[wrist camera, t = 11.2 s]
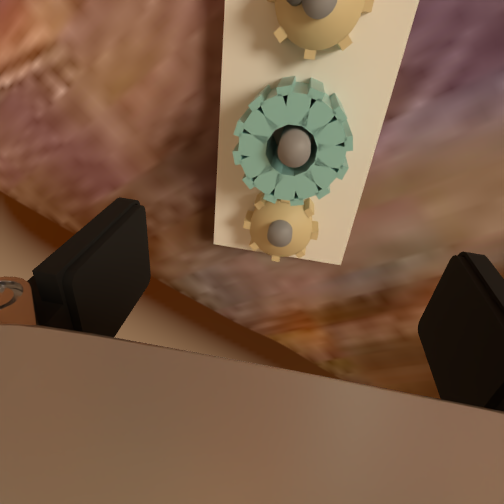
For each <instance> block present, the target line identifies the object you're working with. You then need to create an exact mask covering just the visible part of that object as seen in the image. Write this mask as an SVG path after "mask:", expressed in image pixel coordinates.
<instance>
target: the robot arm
mask: <svg viewBox="0 0 504 504" xmlns="http://www.w3.org/2000/svg"><path fill="white" fill-rule="evenodd" d="M32 272H33V275H34V276H32V277H31V278H30V279H29V280H28V281H25V280H24V279H22V278H17V277H0V504H504V279H503V278H502V276H501V275H500V274H499V272H498V271H497V270H496V269H495V267H494V266H493V265H492V263H491V262H490V261H489V259H488V258H487V257H486V256H485V255H480V254H474V253H468V252H461V253H460V254H459V255H458V256H456V255H455V256H453V257H452V258H451V259H450V261H449V263H448V265H447V267H446V269H445V271H444V273H443V275H442V277H441V279H440V281H439V283H438V285H437V287H436V289H435V291H434V293H433V295H432V297H431V299H430V301H429V303H428V305H427V307H426V309H425V311H424V313H423V315H422V317H421V319H420V321H419V324H418V333H419V337H420V340H421V342H422V345H423V348H424V351H425V354H426V357H427V360H428V363H429V366H430V369H431V372H432V374H433V377H434V380H435V383H436V386H437V389H438V392H439V395H440V398H441V399H437V398H432V397H427V396H422V395H417V394H411V393H406V392H401V391H396V390H391V389H386V388H381V387H375V386H370V385H365V384H360V383H355V382H350V381H345V380H339V379H334V378H329V377H324V376H318V375H313V374H308V373H303V372H297V371H291V370H286V369H282V368H276V367H271V366H266V365H260V364H255V363H249V362H244V361H239V360H234V359H228V358H223V357H217V356H212V355H206V354H201V353H195V352H190V351H185V350H179V349H173V348H169V347H163V346H158V345H152V344H147V343H141V342H136V341H130V340H125V339H119V338H114V337H115V335H116V334H117V332H118V330H119V329H120V327H121V326H122V324H123V323H124V321H125V320H126V318H127V317H128V315H129V314H130V312H131V311H132V309H133V308H134V306H135V305H136V303H137V301H138V300H139V298H140V297H141V295H142V294H143V292H144V291H145V289H146V288H147V286H148V284H149V282H150V262H149V250H148V237H147V225H146V212H145V208H144V206H141V205H140V203H139V201H138V200H132V199H126V198H117V199H116V200H115V201H114V202H113V203H111V204H110V205H109V206H108V207H107V208H105V209H104V210H103V211H102V212H101V213H100V214H98V215H97V216H96V217H95V218H94V219H92V220H91V221H90V222H89V223H88V224H87V225H85V226H84V227H83V228H82V229H81V230H80V231H78V232H77V233H76V234H75V235H74V236H72V237H71V238H70V239H69V240H68V241H67V242H65V243H64V244H63V245H62V246H61V247H60V248H58V249H57V250H56V251H55V252H54V253H53V254H51V255H50V256H49V257H48V258H47V259H46V260H44V261H43V262H42V263H41V264H40V265H38V266H37V267H36V268H35V269H34V270H33V271H32Z"/></svg>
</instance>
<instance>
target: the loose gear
mask: <svg viewBox="0 0 504 504" xmlns="http://www.w3.org/2000/svg"><path fill="white" fill-rule="evenodd" d="M248 106H249V108H248V109H247V110H246V112H245V113H244V114H243V115H242V116H241V118H240V119H239V120H238V122H237V125H236V128H235V131H234V134H233V135H236V136H238V137H239V142H238V144H237V145H236V147H235V148H234V150H233V151H232V152H233V157H234V163H235V165H239V164H241V166H242V168H243V170H244V172H245V174H244V176H243V179H242V180H243V181H244V183H245V184H246V185H247V186H248V187H249V189H250V190H251V189H252V188H253V187H256V188H258V189H259V190H260V191H262V192H263V193H264V197H263V199H264V200H267V201H269V202H272V203H274V204H275V203H276V200H277V199H281V200H288V201H290V205H291V206H297V205H304V199H306V198H309V197H312V196H315V195H316V196H317V198H318V199H321V198H322V197H324V196H325V195H327V194H329V193H330V184H331V183H332V182H333V181H334V180H335V179H336V178H338V179H341V180H342V179H343V177H344V175H345V174H346V172H347V170H348V168H349V167H348V163H347V159H346V151H353V135H352V132H351V130H350V127H349V124H348V122H347V119H348V118H347V116H346V113H345V111H344V108H343V106H342V103H341V102H340V100H339V99H338V97H337V96H336V94H335V93H334V94H333V95H331V96H329V95H327V94H326V93H325V91H324V86H323V82H320V81H318V80H316V79H314V78H311V79H310V81H309V83H302V82H296V77H295V76H290V77H284V78H282V79H281V81H280V83H279V84H278V86H277V87H276V88H274V89H271V88H270V86H269V85H267V86H266V87H265V88H264V89H263V90H262V91H261V92H259V93H258V94H257V96H256V97H255V98H254V99H253V100H252V102H251V103H250V104H249V105H248ZM288 124H290V125H297V126H303V127H304V128H305V129H306V130H308V131H309V132H310V133H311V134H312V135H313V136H314V139H315V140H314V142H313V143H312V144H311V152H310V157H309V159H308V160H307V162H306V163H305V164H303V165H302V166H300V167H295V168H292V167H288V166H286V165H284V164H283V163H282V162H281V161H280V159H279V157H278V152H277V151H278V146H277V144H276V141H275V139H274V136H273V132H274V131H275V130H276V129H279V128H281V127H283V126H286V125H288Z"/></svg>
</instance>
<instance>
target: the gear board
mask: <svg viewBox="0 0 504 504" xmlns="http://www.w3.org/2000/svg"><path fill="white" fill-rule="evenodd" d="M418 3H419V0H225V10H224V31H223V53H222V75H221V96H220V118H219V139H218V161H217V182H216V204H215V225H214V244H216V245H222V246H228V247H234V248H240V249H246V250H252V251H258V252H265V253H267V254H269V255H272V259H271V260H272V261H278V262H279V260H280V257H287V256H289V257H295V258H301V259H307V260H313V261H319V262H325V263H331V264H337V265H341V262H342V259H343V255H344V252H345V249H346V245H347V242H348V239H349V235H350V232H351V229H352V225H353V222H354V218H355V215H356V212H357V208H358V205H359V202H360V198H361V195H362V191H363V188H364V185H365V181H366V178H367V175H368V171H369V168H370V165H371V161H372V158H373V154H374V151H375V148H376V144H377V141H378V138H379V134H380V131H381V127H382V124H383V121H384V117H385V114H386V111H387V107H388V104H389V101H390V97H391V94H392V90H393V87H394V84H395V80H396V77H397V74H398V70H399V67H400V64H401V60H402V57H403V53H404V50H405V47H406V43H407V40H408V37H409V33H410V30H411V26H412V23H413V20H414V16H415V13H416V10H417V6H418ZM290 76H295V77H296V82H302V83H309V81H310V79H311V78H314V79H316V80H318V81H320V82H323V86H324V91H325V93H326V94H327V95H329V96H331V95H333V94H334V93H335V94H336V96H337V97H338V99H339V100H340V102H341V103H342V106H343V108H344V111H345V113H346V116H347V118H348V119H347V122H348V124H349V127H350V130H351V132H352V135H353V151H346V159H347V163H348V167H349V168H348V170H347V172H346V174H345V175H344V177H343V179H342V180H341V179H338V178H336V179H335V180H334V181H333V182H332V183H331V184H330V193H329V194H327V195H325V196H324V197H322V198H321V199H318V198H317V196H316V195H315V196H312V197H309V198H306V199H304V205H297V206H291V205H290V201H288V200H281V199H277V200H276V203H275V204H274V203H272V202H269V201H267V200H264V199H263V197H264V193H263V192H262V191H260V190H259V189H258V188H256V187H253V188H252V189H251V190H250V189H249V187H248V186H247V185H246V184H245V183H244V181H243V180H242V179H243V176H244V174H245V172H244V170H243V168H242V166H241V164H239V165H235V163H234V157H233V152H232V151H233V150H234V148H235V147H236V145H237V144H238V142H239V137H238V136H236V135H233V134H234V131H235V128H236V125H237V122H238V120H239V119H240V118H241V116H242V115H243V114H244V113H245V112H246V110H247V109H248V108H249V106H248V105H249V104H250V103H251V102H252V100H253V99H254V98H255V97H256V96H257V94H258V93H259V92H261V91H262V90H263V89H264V88H265V87H266V86H267V85H269V86H270V88H271V89H274V88H276V87H277V86H278V84H279V83H280V81H281V79H282V78H284V77H290ZM273 136H274V139H275V141H276V144H277V146H278V151H277V152H278V157H279V159H280V161H281V162H282V163H283V164H284V165H286V166H288V167H292V168H295V167H300V166H302V165H303V164H305V163H306V162H307V160H308V159H309V157H310V152H311V144H312V143H313V142H314V140H315V139H314V136H313V135H312V134H311V133H310V132H309V131H308V130H306V129H305V128H304V127H303V126H297V125H290V124H288V125H286V126H283V127H281V128H279V129H276V130H275V131H274V132H273Z"/></svg>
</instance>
